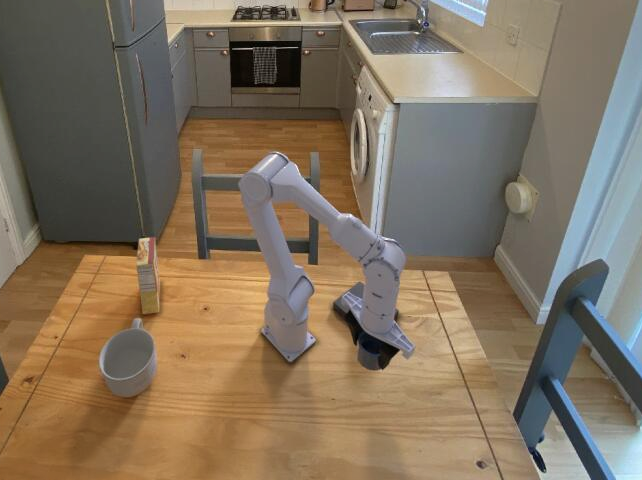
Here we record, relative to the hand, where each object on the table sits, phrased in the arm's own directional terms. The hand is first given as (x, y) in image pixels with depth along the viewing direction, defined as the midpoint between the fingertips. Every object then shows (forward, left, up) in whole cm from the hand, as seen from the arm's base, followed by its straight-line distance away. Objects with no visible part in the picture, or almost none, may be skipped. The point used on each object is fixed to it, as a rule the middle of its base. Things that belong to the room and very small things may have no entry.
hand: (371, 353), depth 80 cm
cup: (0, 0, -1) cm, 1 cm away
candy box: (-45, -24, -9) cm, 52 cm away
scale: (-10, +13, -8) cm, 19 cm away
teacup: (-31, -35, -9) cm, 48 cm away
